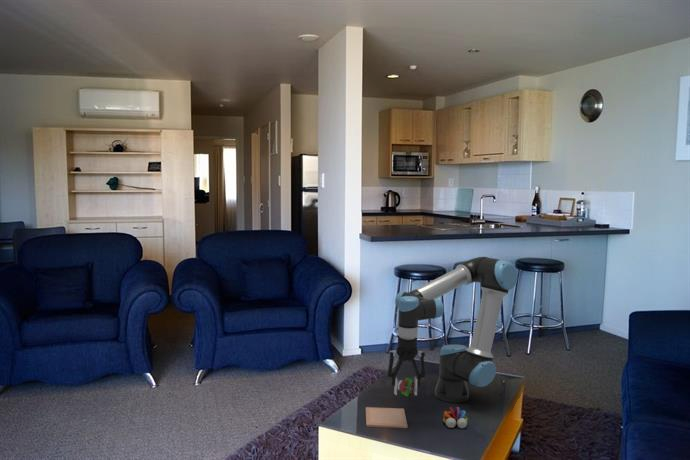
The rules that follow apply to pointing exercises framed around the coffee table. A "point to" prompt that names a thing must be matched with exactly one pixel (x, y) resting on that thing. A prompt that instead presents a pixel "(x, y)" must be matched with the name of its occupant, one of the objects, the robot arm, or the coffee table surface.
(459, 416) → the colourful small pieces
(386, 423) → the tile
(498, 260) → the robot arm
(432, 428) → the coffee table surface
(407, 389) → the geometric puzzle
